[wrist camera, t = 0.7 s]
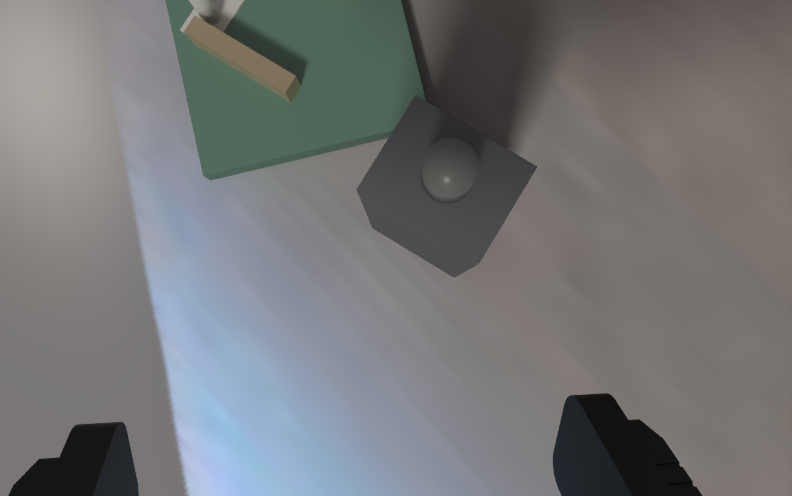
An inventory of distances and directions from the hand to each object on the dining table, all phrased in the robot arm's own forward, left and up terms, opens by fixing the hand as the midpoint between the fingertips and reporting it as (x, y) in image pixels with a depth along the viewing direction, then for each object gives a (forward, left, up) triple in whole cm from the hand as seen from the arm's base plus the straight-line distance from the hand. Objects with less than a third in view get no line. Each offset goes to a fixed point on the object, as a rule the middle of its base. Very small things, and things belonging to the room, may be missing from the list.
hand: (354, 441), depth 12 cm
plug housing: (-7, -2, -21) cm, 22 cm away
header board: (-14, -16, -21) cm, 30 cm away
